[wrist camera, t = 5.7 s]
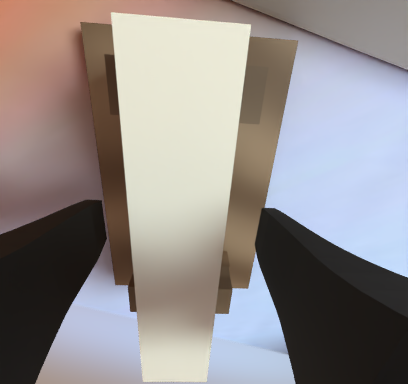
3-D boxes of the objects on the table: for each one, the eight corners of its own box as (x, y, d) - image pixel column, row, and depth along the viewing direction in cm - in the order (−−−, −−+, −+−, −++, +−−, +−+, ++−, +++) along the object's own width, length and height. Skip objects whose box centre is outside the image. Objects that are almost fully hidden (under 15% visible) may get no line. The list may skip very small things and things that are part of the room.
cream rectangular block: (203, 294, 15) (206, 381, 11) (159, 293, 15) (142, 381, 11) (225, 56, 9) (251, 24, 5) (153, 50, 9) (110, 12, 5)
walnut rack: (245, 276, 18) (258, 330, 14) (120, 272, 18) (97, 327, 14) (288, 45, 12) (338, 21, 8) (91, 28, 11) (30, -8, 7)
